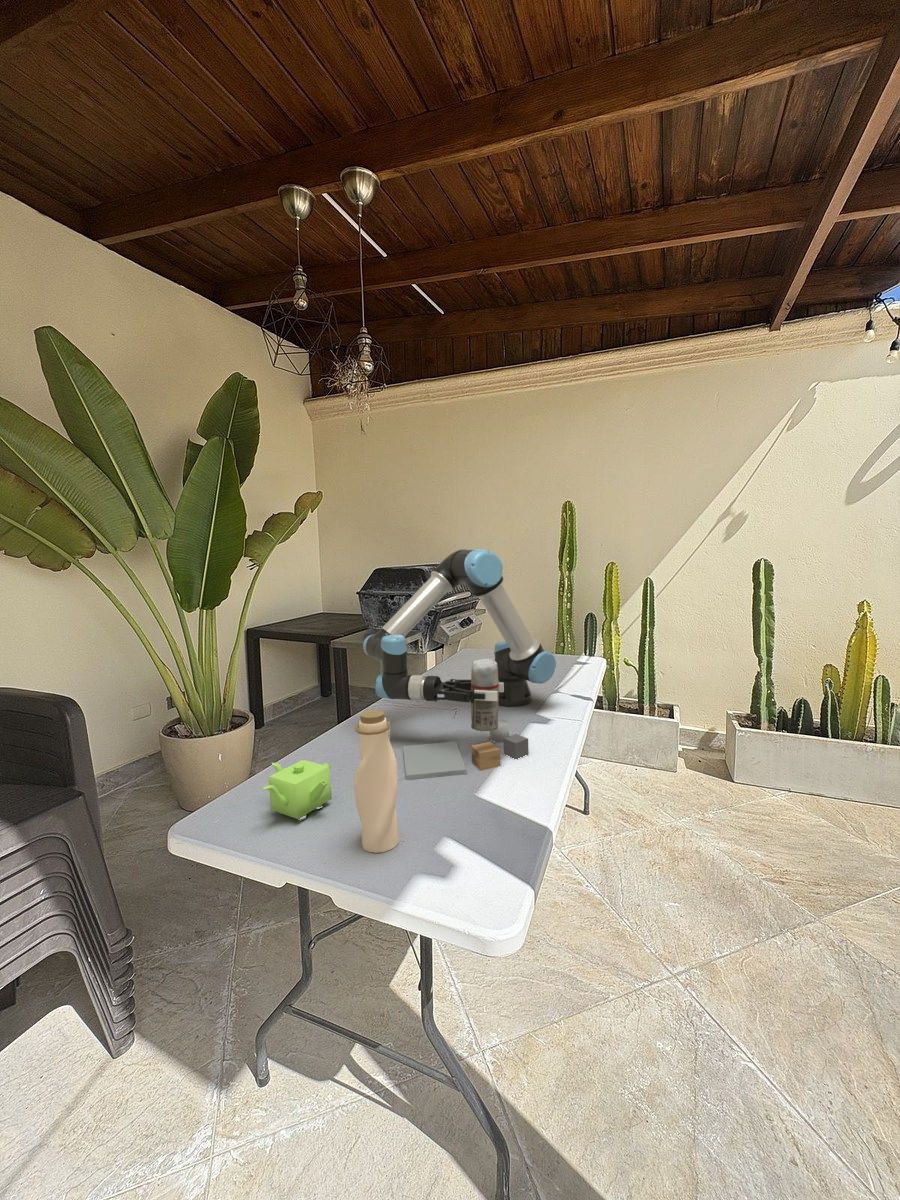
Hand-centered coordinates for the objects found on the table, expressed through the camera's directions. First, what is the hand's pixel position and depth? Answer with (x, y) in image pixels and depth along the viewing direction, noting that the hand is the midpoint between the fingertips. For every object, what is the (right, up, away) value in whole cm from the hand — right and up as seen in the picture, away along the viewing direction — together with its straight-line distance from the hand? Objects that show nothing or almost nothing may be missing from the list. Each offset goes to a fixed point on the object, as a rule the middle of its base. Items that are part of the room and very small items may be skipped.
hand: (500, 691), depth 153 cm
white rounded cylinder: (+1, -17, +12) cm, 21 cm away
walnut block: (-4, -19, -5) cm, 21 cm away
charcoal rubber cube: (+5, -18, 0) cm, 19 cm away
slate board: (-19, -19, -2) cm, 27 cm away
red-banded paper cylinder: (-4, -11, +3) cm, 12 cm away
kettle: (-50, -24, -26) cm, 61 cm away
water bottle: (-29, -25, -40) cm, 56 cm away
